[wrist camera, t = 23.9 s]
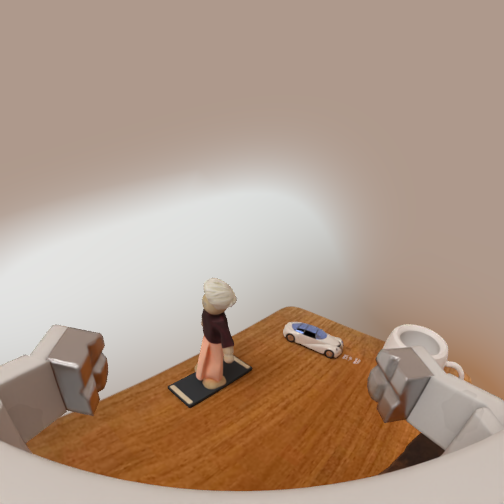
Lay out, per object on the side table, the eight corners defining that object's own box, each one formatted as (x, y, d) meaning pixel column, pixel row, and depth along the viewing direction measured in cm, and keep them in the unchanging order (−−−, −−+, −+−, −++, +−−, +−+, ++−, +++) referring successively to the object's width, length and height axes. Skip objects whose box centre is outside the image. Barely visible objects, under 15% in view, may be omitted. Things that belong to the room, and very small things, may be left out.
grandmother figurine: (181, 364, 35) (181, 268, 31) (208, 355, 38) (213, 263, 33) (215, 405, 30) (223, 303, 25) (245, 393, 32) (259, 294, 28)
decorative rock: (436, 454, 23) (487, 381, 20) (462, 490, 18) (526, 421, 14) (343, 491, 20) (392, 420, 17) (367, 541, 15) (436, 484, 11)
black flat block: (189, 408, 29) (189, 405, 29) (167, 388, 31) (167, 385, 31) (252, 369, 37) (252, 367, 36) (230, 355, 39) (230, 352, 39)
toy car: (356, 369, 38) (361, 354, 37) (279, 337, 44) (282, 322, 43) (363, 356, 41) (368, 341, 40) (291, 327, 47) (293, 312, 46)
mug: (360, 394, 33) (381, 343, 31) (380, 360, 40) (398, 314, 37) (444, 427, 27) (475, 379, 24) (451, 388, 33) (476, 342, 31)
